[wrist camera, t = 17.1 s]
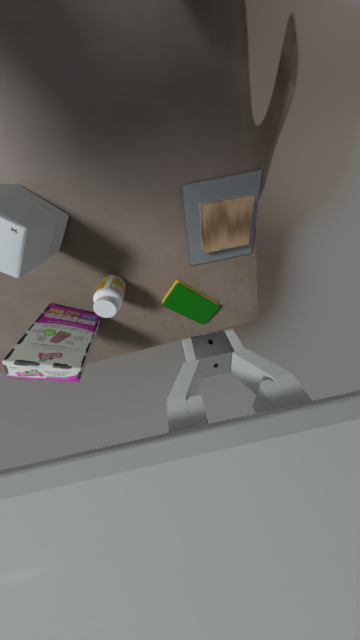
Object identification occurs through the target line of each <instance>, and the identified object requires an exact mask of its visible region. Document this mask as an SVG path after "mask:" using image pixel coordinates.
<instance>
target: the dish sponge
mask: <svg viewBox="0 0 360 640" xmlns="http://www.w3.org/2000/svg"><path fill="white" fill-rule="evenodd" d="M162 303H163V306H165V307H167V308H169V309H171V310H173V311H175V312H177V313H179V314H181V315H184V316H186V317H188V318H190V319H192V320H194V321H196V322H198V323H200V324H202V325H203V324H205V323H206V322H207V321H208V320H209V319H210V318H211V317H212V316H213V315H214V313H215V312H216V311H217V310H218V309H219V308H220V306H219V305H218V303H217V302H215V301H214V300H212V299H210V298H209V297H207V296H205V295H203V294H202V293H200V292H198V291H197V290H195V289H193V288H191V287H190V286H188V285H186V284H185V283H183V282H181V281H180V280H176V281H175V282H174V284H173V285H172V287H171V288H170V290H169V291H168V293H167V294H166V295H165V297H164V298H163V300H162Z"/></svg>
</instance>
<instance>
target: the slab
mask: <svg viewBox="0 0 360 640" xmlns="http://www.w3.org/2000/svg"><path fill="white" fill-rule="evenodd" d="M253 203H254V195H243V196H238V197H233V198H227V199H222V200H217V201H212V202H207V203H202V204H199V206H200V224H201V242H202V250H203V251H204V253H209V252H214V251H219V250H223V249H228V248H233V247H238V246H243V245H248V244H249V236H250V228H251V220H252V211H253Z"/></svg>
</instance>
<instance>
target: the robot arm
mask: <svg viewBox="0 0 360 640" xmlns="http://www.w3.org/2000/svg"><path fill="white" fill-rule="evenodd" d="M182 343H183V348H184V353H185V357H186V362H185V363H184V364H183V366H182V368H181V370H180V373H179V375H178V377H177V379H176V381H175V384H174V386H173V388H172V390H171V392H170V394H169V397H168V399H167V414H168V427H169V433H166V434H161V435H157V436H152V437H148V438H143V439H139V440H134V441H130V442H125V443H121V444H116V445H112V446H107V447H103V448H99V449H94V450H89V451H85V452H80V453H76V454H72V455H67V456H63V457H58V458H54V459H49V460H45V461H40V462H36V463H31V464H27V465H23V466H18V467H14V468H9V469H5V470H0V640H360V390H358V391H354V392H350V393H345V394H341V395H336V396H331V397H327V398H323V399H318V400H314V401H312V400H311V398H310V397H309V396H308V394H307V393H306V392H305V391H304V389H303V388H302V386H301V385H300V384H299V383H298V381H297V380H296V379H295V377H294V376H293V375H292V374H291V373H289V372H288V371H286V370H284V369H282V368H281V367H279V366H277V365H275V364H274V363H272V362H270V361H268V360H266V359H264V358H263V357H261V356H259V355H257V354H256V353H254V352H252V351H250V350H249V349H245V348H244V347H243V345H242V344H241V342H240V340H239V339H238V337H237V335H236V334H235V332H234V330H233V329H227V330H222V331H218V332H214V333H209V334H205V335H200V336H195V337H190V338H185V339H182ZM228 372H231V374H233V375H234V376H235V377H236V378H237V379H238V380H240V381H241V382H242V383H243V384H244V385H246V386H247V387H248V388H249V389H250V390H251V391H253V392H254V393H255V394H256V397H255V400H254V403H253V408H254V411H255V414H251V415H246V416H242V417H238V418H233V419H228V420H225V421H220V422H215V423H210V424H208V420H207V416H206V413H205V409H204V405H203V401H202V397H201V396H199V395H198V392H199V388H200V385H201V381H202V378H205V377H209V376H213V375H218V374H223V373H228Z"/></svg>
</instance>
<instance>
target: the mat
mask: <svg viewBox="0 0 360 640" xmlns="http://www.w3.org/2000/svg"><path fill="white" fill-rule="evenodd" d="M261 176H262V170H257V171H252V172H247V173H242V174H237V175H232V176H227V177H222V178H217V179H212V180H207V181H202V182H197V183H192V184H187V185H182V194H183V203H184V212H185V221H186V230H187V239H188V248H189V257H190V265H191V266H192V265H197V264H202V263H207V262H212V261H216V260H221V259H226V258H231V257H236V256H241V255H245V254H250V253H252V245H253V237H254V230H255V222H256V214H257V207H258V199H259V191H260V183H261ZM243 195H254V203H253V211H252V220H251V228H250V236H249V244H248V245H243V246H238V247H233V248H228V249H223V250H219V251H214V252H209V253H204V251H203V250H202V242H201V224H200V206H199V204H202V203H207V202H212V201H217V200H222V199H227V198H233V197H238V196H243Z"/></svg>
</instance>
